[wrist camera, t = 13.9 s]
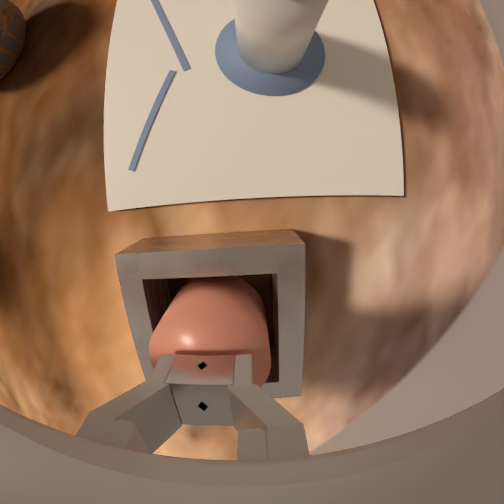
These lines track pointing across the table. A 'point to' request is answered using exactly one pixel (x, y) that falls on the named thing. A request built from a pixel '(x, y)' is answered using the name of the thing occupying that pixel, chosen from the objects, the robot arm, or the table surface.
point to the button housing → (221, 264)
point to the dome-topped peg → (275, 32)
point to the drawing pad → (245, 109)
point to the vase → (10, 35)
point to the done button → (215, 323)
